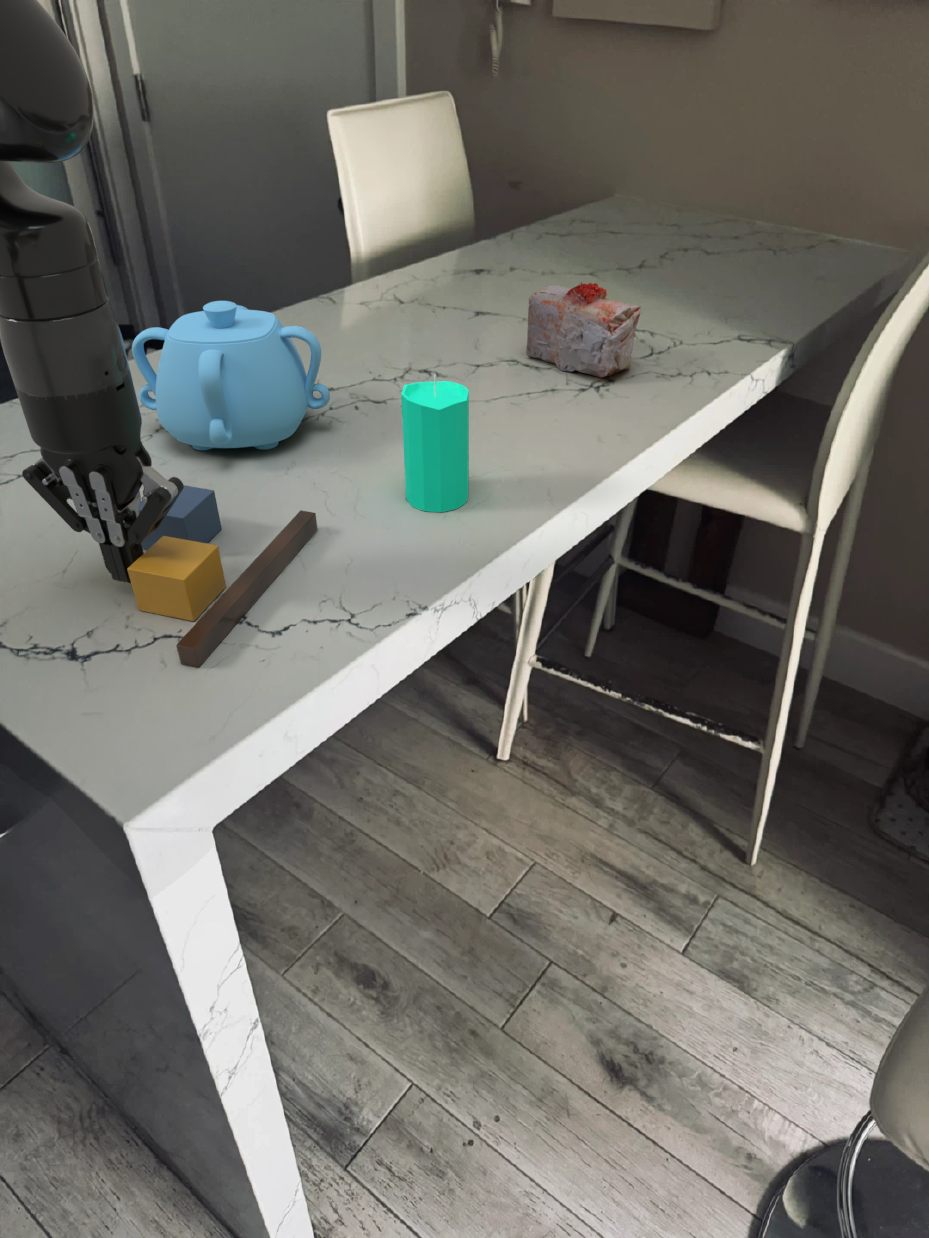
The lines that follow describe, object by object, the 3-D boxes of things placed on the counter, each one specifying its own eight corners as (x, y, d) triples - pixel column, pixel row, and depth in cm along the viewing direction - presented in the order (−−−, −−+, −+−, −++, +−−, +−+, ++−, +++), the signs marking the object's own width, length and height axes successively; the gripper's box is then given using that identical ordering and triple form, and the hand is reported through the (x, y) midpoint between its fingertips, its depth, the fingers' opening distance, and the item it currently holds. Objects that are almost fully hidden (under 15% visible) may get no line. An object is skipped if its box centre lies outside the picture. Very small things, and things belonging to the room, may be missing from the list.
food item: (642, 368, 109) (652, 287, 103) (608, 388, 104) (616, 304, 98) (552, 343, 116) (557, 266, 110) (516, 361, 111) (519, 281, 105)
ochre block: (194, 622, 68) (184, 579, 65) (138, 610, 69) (126, 568, 66) (226, 586, 71) (218, 545, 69) (173, 576, 73) (163, 535, 70)
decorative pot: (270, 390, 104) (253, 271, 95) (345, 434, 94) (333, 306, 86) (139, 427, 95) (107, 301, 87) (206, 481, 85) (178, 344, 77)
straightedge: (198, 668, 63) (193, 649, 62) (180, 664, 64) (175, 644, 62) (317, 530, 78) (315, 512, 77) (302, 527, 79) (300, 510, 78)
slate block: (192, 558, 75) (183, 518, 72) (141, 548, 76) (131, 508, 73) (222, 529, 78) (214, 489, 76) (173, 520, 80) (164, 481, 77)
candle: (395, 505, 82) (388, 382, 75) (421, 476, 86) (417, 358, 79) (454, 517, 80) (453, 393, 73) (478, 488, 84) (479, 368, 77)
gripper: (-48, 378, 59) (29, 588, 69) (121, 404, 55) (175, 619, 66) (27, 340, 64) (88, 539, 75) (185, 361, 61) (225, 565, 72)
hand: (129, 576), depth 70 cm, fingers closed
